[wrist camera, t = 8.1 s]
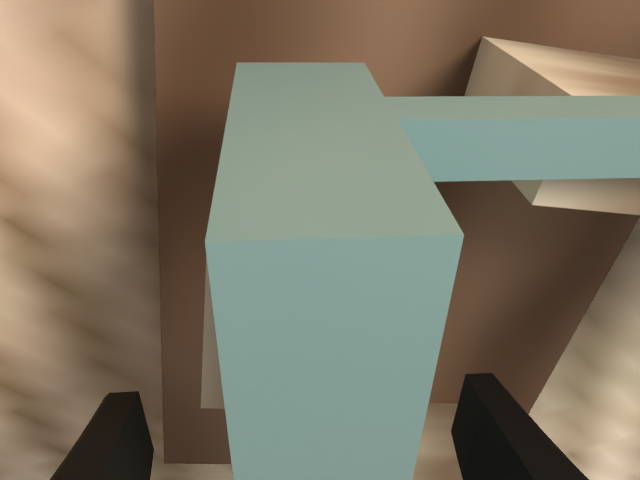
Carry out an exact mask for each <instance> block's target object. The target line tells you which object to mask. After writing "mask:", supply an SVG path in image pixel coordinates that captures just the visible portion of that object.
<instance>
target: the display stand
mask: <svg viewBox="0 0 640 480" xmlns="http://www.w3.org/2000/svg"><path fill="white" fill-rule="evenodd" d="M153 1H154V44H155V87H156V130H157V173H158V216H159V259H160V301H161V344H162V387H163V430H164V463H184V464H231V455H230V447H229V439H228V430H227V422H226V414H225V406H224V397H223V389H222V381H221V372H220V364H219V356H218V347H217V339H216V331H215V322H214V314H213V306H212V297H211V289H210V281H209V272H208V264H207V256H206V248H205V238H206V233H207V227H208V221H209V216H210V210H211V205H212V199H213V193H214V188H215V182H216V177H217V171H218V165H219V160H220V154H221V149H222V143H223V137H224V132H225V126H226V121H227V115H228V109H229V104H230V98H231V92H232V87H233V81H234V76H235V70H236V64H237V62H324V63H365V64H366V66H367V68H368V70H369V71H370V73H371V75H372V76H373V78H374V80H375V82H376V83H377V85H378V87H379V89H380V90H381V92H382V94H383V95H384V97H427V96H640V0H153ZM434 184H435V185H436V187H437V189H438V190H439V192H440V194H441V196H442V197H443V199H444V201H445V203H446V204H447V206H448V208H449V209H450V211H451V213H452V215H453V216H454V218H455V220H456V222H457V223H458V225H459V227H460V228H461V230H462V232H463V234H464V238H463V243H462V248H461V252H460V257H459V262H458V266H457V271H456V276H455V281H454V285H453V290H452V295H451V299H450V304H449V309H448V314H447V318H446V323H445V328H444V332H443V337H442V342H441V347H440V351H439V356H438V361H437V365H436V370H435V375H434V380H433V384H432V389H431V394H430V398H429V403H428V408H427V413H426V417H425V422H424V427H423V431H422V436H421V441H420V446H419V450H418V455H417V460H416V464H415V469H414V474H413V479H412V480H463V478H462V475H461V471H460V467H459V463H458V459H457V455H456V451H455V447H454V443H453V438H452V434H451V429H452V425H453V421H454V417H455V413H456V409H457V405H458V401H459V397H460V393H461V390H462V386H463V382H464V378H465V374H476V373H493V374H494V375H495V376H496V378H497V379H498V380H499V381H500V382H501V383H502V385H503V386H504V387H505V388H506V389H507V390H508V392H509V393H510V394H511V395H512V396H513V397H514V399H515V400H516V401H517V402H518V403H519V404H520V406H521V407H522V408H523V409H524V410H525V411H526V412H527V414H529V412H530V410H531V408H532V407H533V405H534V403H535V401H536V400H537V398H538V396H539V394H540V392H541V391H542V389H543V387H544V385H545V384H546V382H547V380H548V378H549V376H550V375H551V373H552V371H553V369H554V368H555V366H556V364H557V362H558V360H559V359H560V357H561V355H562V353H563V352H564V350H565V348H566V346H567V345H568V343H569V341H570V339H571V337H572V336H573V334H574V332H575V330H576V329H577V327H578V325H579V323H580V321H581V320H582V318H583V316H584V314H585V313H586V311H587V309H588V307H589V305H590V304H591V302H592V300H593V298H594V297H595V295H596V293H597V291H598V290H599V288H600V286H601V284H602V282H603V281H604V279H605V277H606V275H607V274H608V272H609V270H610V268H611V266H612V265H613V263H614V261H615V259H616V258H617V256H618V254H619V252H620V250H621V249H622V247H623V245H624V243H625V242H626V240H627V238H628V236H629V235H630V233H631V231H632V229H633V227H634V226H635V224H636V222H637V220H638V219H639V217H640V178H606V179H553V180H499V181H446V182H434Z"/></svg>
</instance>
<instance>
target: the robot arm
mask: <svg viewBox="0 0 640 480" xmlns="http://www.w3.org/2000/svg"><path fill="white" fill-rule="evenodd" d="M451 434H452V438H453V443H454V447H455V451H456V455H457V459H458V463H459V467H460V471H461V475H462V478H463V480H589V479H588V478H587V477H586V476H585V475H584V474H583V473H582V472H581V471H580V470H579V469H578V468H577V467H576V466H575V465H574V464H573V463H572V462H571V461H570V460H569V459H568V458H567V456H566V455H565V454H564V453H563V452H562V451H561V450H560V449H559V448H558V447H557V446H556V445H555V444H554V443H553V442H552V440H551V439H550V438H549V437H548V436H547V435H546V434H545V433H544V432H543V431H542V429H541V428H540V427H539V426H538V425H537V424H536V423H535V422H534V420H533V419H532V418H531V417H530V416H529V415H528V414H527V412H526V411H525V410H524V409H523V408H522V407H521V406H520V404H519V403H518V402H517V401H516V400H515V399H514V397H513V396H512V395H511V394H510V393H509V392H508V390H507V389H506V388H505V387H504V386H503V385H502V383H501V382H500V381H499V380H498V379H497V378H496V376H495V375H494V374H493V373H476V374H465V378H464V382H463V386H462V390H461V393H460V397H459V401H458V405H457V409H456V413H455V417H454V421H453V425H452V429H451ZM153 452H154V449H153V445H152V441H151V437H150V434H149V430H148V426H147V422H146V418H145V414H144V410H143V407H142V403H141V399H140V395H139V391H137V392H119V393H109V394H108V395H107V396H106V397H105V398H104V399H103V401H102V403H101V404H100V406H99V408H98V409H97V411H96V412H95V414H94V416H93V417H92V419H91V420H90V422H89V423H88V425H87V426H86V428H85V430H84V431H83V433H82V434H81V436H80V437H79V439H78V440H77V442H76V443H75V445H74V446H73V448H72V449H71V451H70V452H69V454H68V455H67V457H66V458H65V459H64V461H63V462H62V464H61V465H60V466H59V468H58V469H57V471H56V472H55V473H54V475H53V476H52V478H51V479H50V480H150V476H151V468H152V460H153Z"/></svg>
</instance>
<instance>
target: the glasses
mask: <svg viewBox="0 0 640 480" xmlns="http://www.w3.org/2000/svg"><path fill="white" fill-rule="evenodd" d="M606 178H640V96H427V97H384V95H383V94H382V92H381V90H380V89H379V87H378V85H377V83H376V82H375V80H374V78H373V76H372V75H371V73H370V71H369V70H368V68H367V66H366V64H365V63H324V62H237V64H236V70H235V76H234V81H233V87H232V92H231V98H230V104H229V109H228V115H227V121H226V126H225V132H224V137H223V143H222V149H221V154H220V160H219V165H218V171H217V177H216V182H215V188H214V193H213V199H212V205H211V210H210V216H209V221H208V227H207V233H206V238H205V248H206V256H207V264H208V272H209V281H210V289H211V297H212V306H213V314H214V322H215V331H216V339H217V347H218V356H219V364H220V372H221V381H222V389H223V397H224V406H225V414H226V422H227V430H228V439H229V447H230V455H231V464H232V472H233V480H412V479H413V474H414V469H415V464H416V460H417V455H418V450H419V446H420V441H421V436H422V431H423V427H424V422H425V417H426V413H427V408H428V403H429V398H430V394H431V389H432V384H433V380H434V375H435V370H436V365H437V361H438V356H439V351H440V347H441V342H442V337H443V332H444V328H445V323H446V318H447V314H448V309H449V304H450V299H451V295H452V290H453V285H454V281H455V276H456V271H457V266H458V262H459V257H460V252H461V248H462V243H463V238H464V234H463V232H462V230H461V228H460V227H459V225H458V223H457V222H456V220H455V218H454V216H453V215H452V213H451V211H450V209H449V208H448V206H447V204H446V203H445V201H444V199H443V197H442V196H441V194H440V192H439V190H438V189H437V187H436V185H435V184H434V182H446V181H499V180H553V179H606Z"/></svg>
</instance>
